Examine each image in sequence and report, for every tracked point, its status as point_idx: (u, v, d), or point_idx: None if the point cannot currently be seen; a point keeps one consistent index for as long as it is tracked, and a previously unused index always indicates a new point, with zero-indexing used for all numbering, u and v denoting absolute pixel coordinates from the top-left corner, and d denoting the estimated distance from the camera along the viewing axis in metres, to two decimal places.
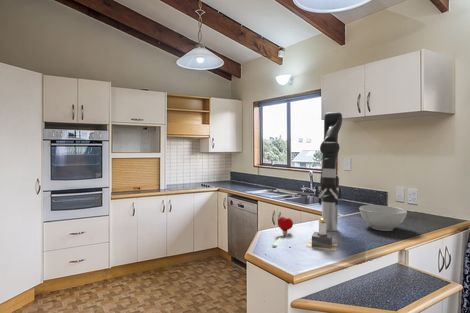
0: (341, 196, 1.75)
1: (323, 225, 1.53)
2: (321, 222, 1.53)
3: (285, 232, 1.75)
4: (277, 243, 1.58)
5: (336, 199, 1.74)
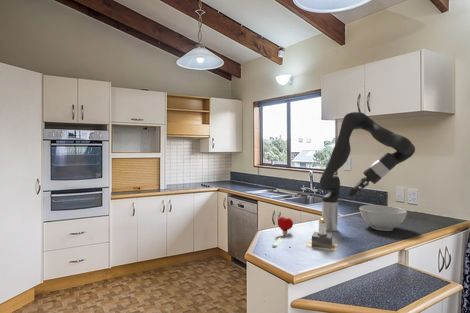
0: (357, 184, 1.57)
1: (323, 225, 1.53)
2: (321, 222, 1.53)
3: (285, 232, 1.75)
4: (277, 243, 1.58)
5: None
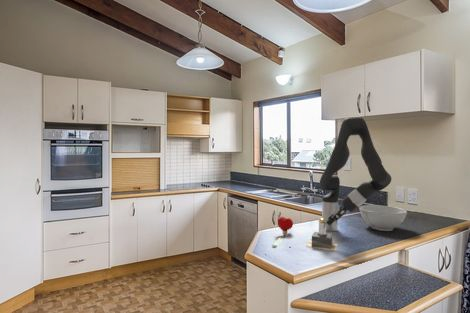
0: None
1: (323, 225, 1.53)
2: (321, 222, 1.53)
3: (285, 232, 1.75)
4: (277, 243, 1.58)
5: (336, 217, 1.56)
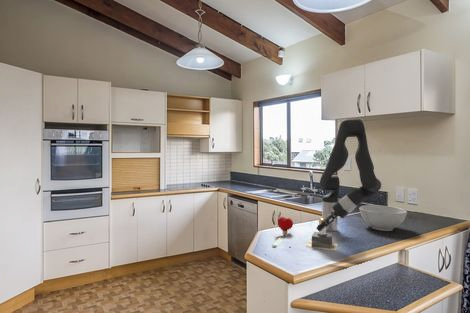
0: None
1: None
2: (321, 222, 1.53)
3: (285, 232, 1.75)
4: (277, 243, 1.58)
5: None
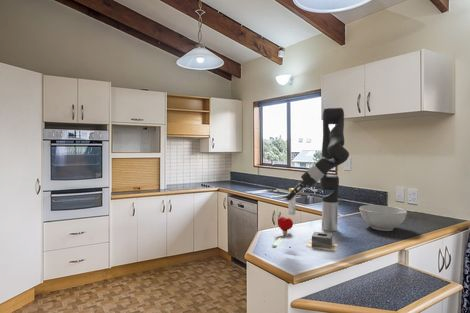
0: None
1: None
2: (290, 191, 1.56)
3: (285, 232, 1.75)
4: (277, 243, 1.58)
5: None
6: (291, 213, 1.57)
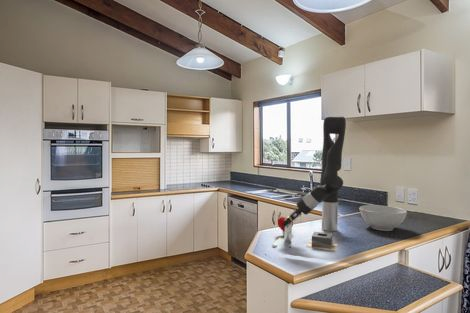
0: None
1: (288, 224, 1.57)
2: None
3: None
4: (277, 243, 1.58)
5: None
6: (287, 242, 1.58)
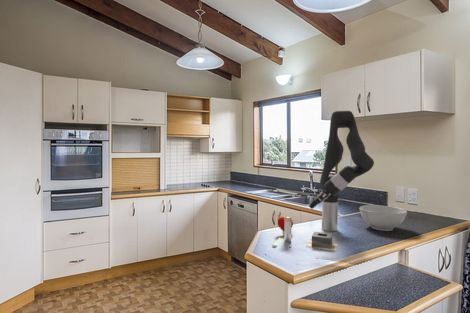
0: None
1: (288, 224, 1.57)
2: (286, 220, 1.58)
3: None
4: (277, 243, 1.58)
5: (320, 201, 1.57)
6: (287, 242, 1.58)
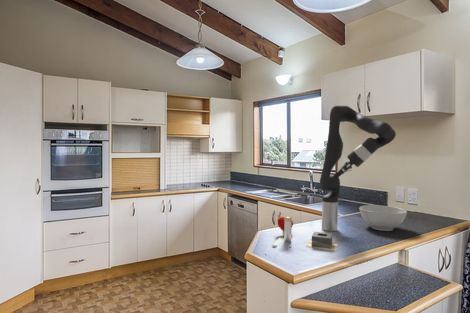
0: None
1: (288, 224, 1.57)
2: (286, 220, 1.58)
3: None
4: (277, 243, 1.58)
5: None
6: (287, 242, 1.58)
